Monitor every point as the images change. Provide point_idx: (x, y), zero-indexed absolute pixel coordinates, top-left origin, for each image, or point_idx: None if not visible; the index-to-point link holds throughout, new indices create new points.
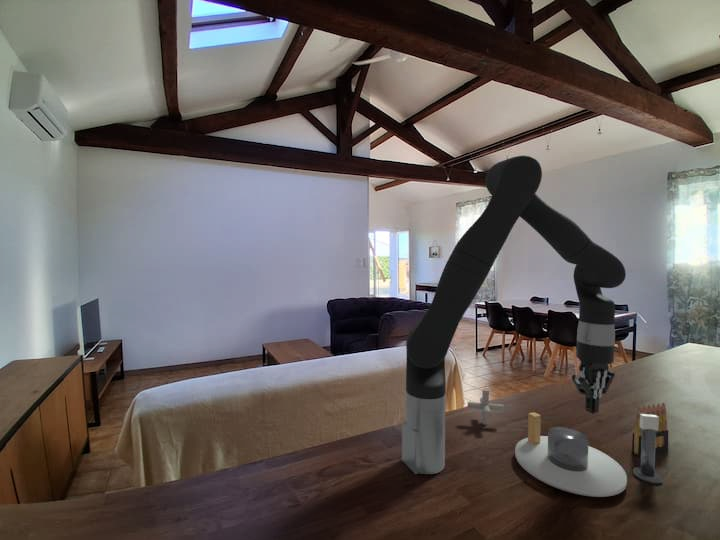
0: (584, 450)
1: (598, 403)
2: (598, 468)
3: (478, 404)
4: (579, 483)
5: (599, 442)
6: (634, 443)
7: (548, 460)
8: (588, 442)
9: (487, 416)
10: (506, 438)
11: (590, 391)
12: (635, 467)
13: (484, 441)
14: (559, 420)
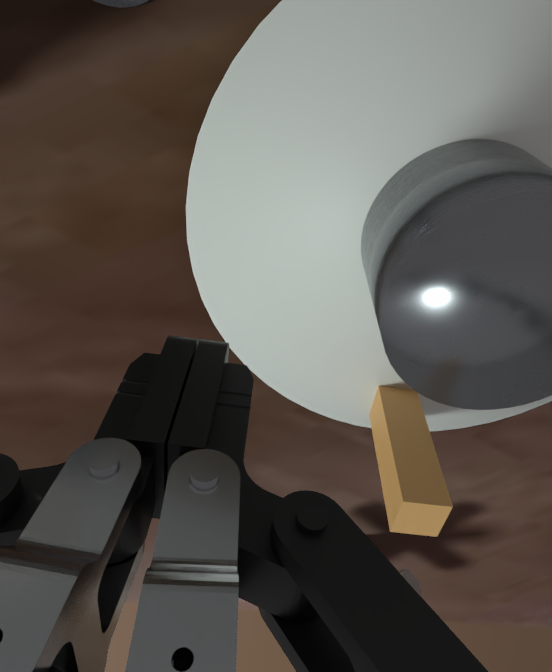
0: (547, 177)
1: (154, 393)
2: (400, 104)
3: None
4: None
5: (21, 262)
6: None
7: None
8: (487, 197)
9: (410, 574)
10: None
11: (322, 570)
12: (109, 4)
13: (483, 486)
14: (25, 441)
